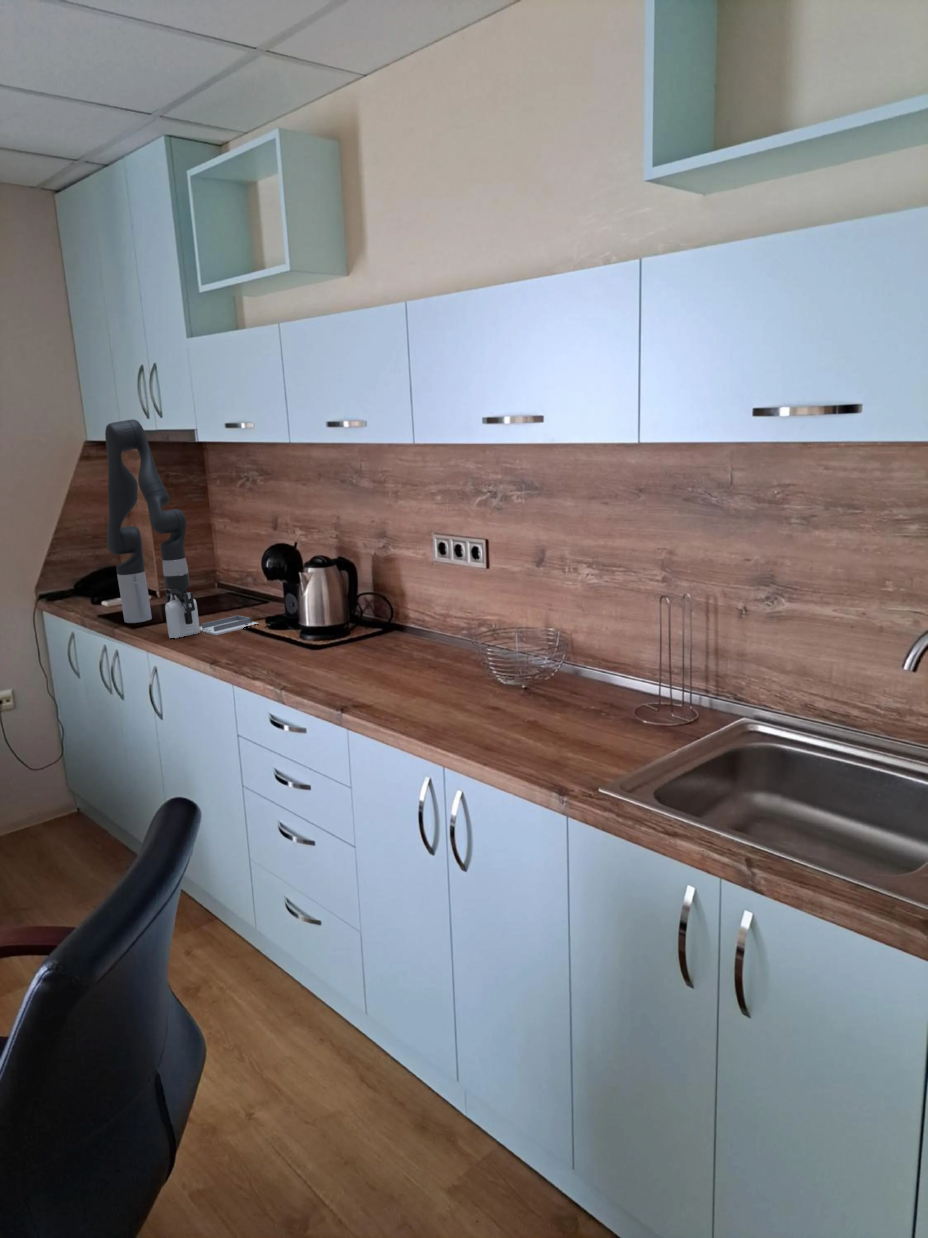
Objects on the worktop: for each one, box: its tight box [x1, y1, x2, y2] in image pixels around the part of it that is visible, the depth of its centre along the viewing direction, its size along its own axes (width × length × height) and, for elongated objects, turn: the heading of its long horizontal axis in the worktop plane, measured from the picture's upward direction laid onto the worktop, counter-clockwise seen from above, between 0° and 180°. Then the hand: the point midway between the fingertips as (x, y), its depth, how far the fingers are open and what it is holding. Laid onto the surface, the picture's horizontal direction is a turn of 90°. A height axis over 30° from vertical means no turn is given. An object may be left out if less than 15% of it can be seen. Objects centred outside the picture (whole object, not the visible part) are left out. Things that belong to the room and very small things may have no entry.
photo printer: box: [164, 598, 201, 639], centre depth 289 cm, size 10×4×12 cm, turn 134°
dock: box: [199, 615, 260, 636], centre depth 298 cm, size 14×16×2 cm
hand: (182, 622), depth 289 cm, fingers open, 8 cm apart
